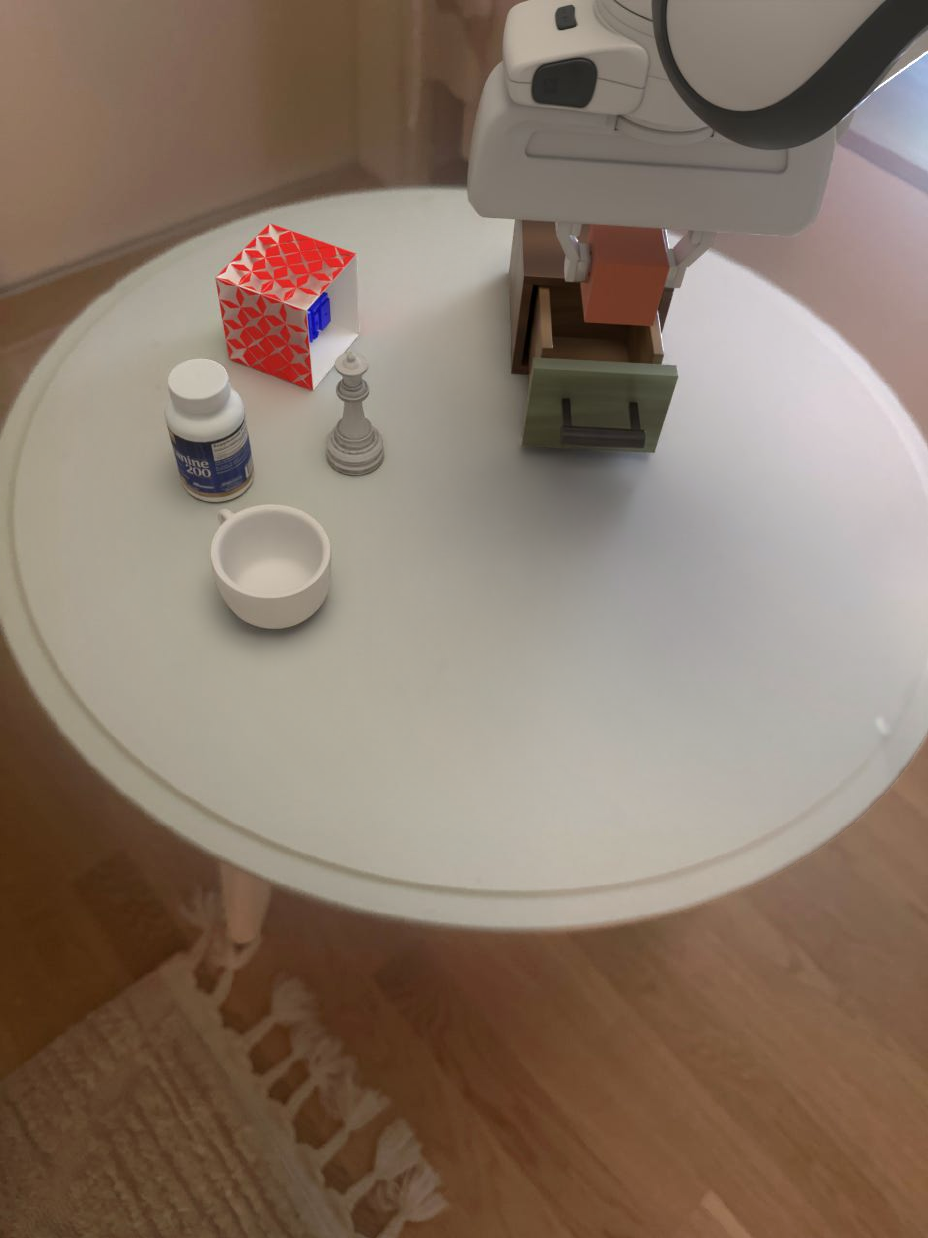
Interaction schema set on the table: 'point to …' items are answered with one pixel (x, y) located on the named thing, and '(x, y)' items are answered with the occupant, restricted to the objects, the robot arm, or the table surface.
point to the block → (625, 275)
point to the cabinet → (543, 279)
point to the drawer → (593, 378)
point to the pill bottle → (208, 431)
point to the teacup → (271, 564)
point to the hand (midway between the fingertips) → (620, 279)
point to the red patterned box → (289, 305)
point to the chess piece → (353, 422)
